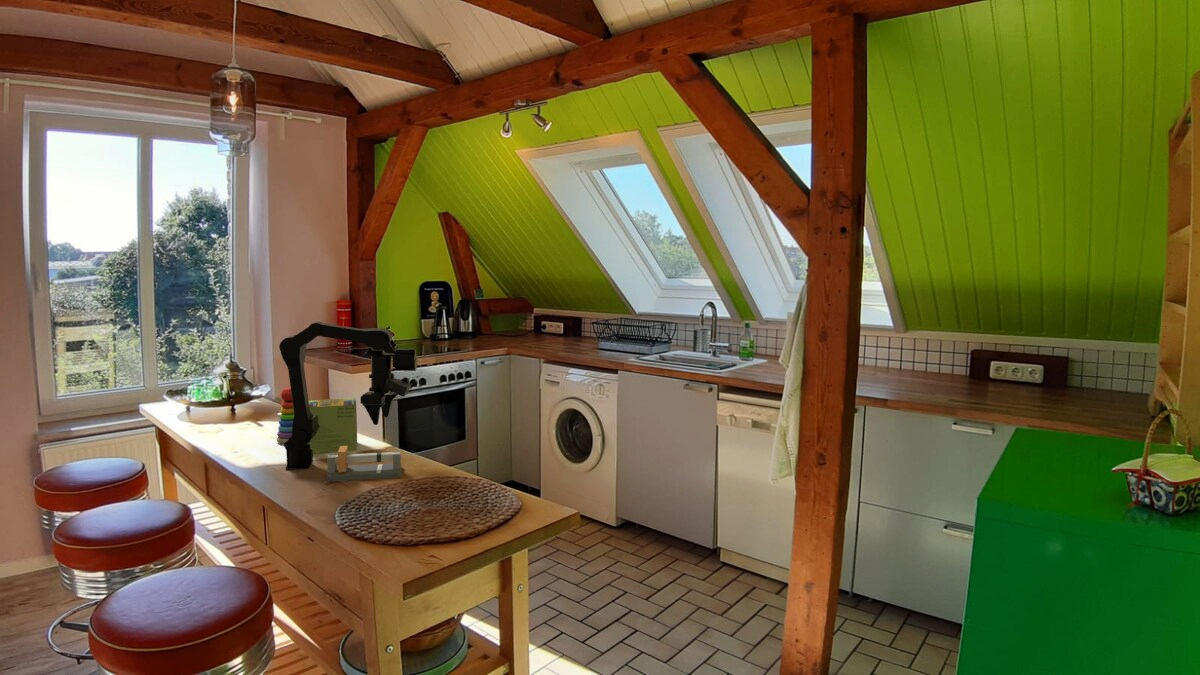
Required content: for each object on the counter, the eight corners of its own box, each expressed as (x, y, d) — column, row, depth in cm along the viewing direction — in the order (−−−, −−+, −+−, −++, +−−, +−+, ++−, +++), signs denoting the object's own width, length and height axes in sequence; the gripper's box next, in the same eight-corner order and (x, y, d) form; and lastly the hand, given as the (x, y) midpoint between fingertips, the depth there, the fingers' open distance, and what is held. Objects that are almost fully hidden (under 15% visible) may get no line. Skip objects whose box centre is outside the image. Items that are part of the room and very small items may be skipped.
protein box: (357, 450, 221) (356, 404, 219) (306, 454, 216) (304, 407, 214) (357, 442, 231) (356, 397, 229) (308, 445, 225) (306, 400, 223)
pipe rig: (326, 481, 192) (325, 460, 191) (331, 471, 200) (330, 451, 199) (399, 477, 196) (399, 457, 195) (401, 467, 205) (401, 448, 204)
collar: (338, 472, 193) (337, 452, 193) (341, 465, 199) (340, 446, 198) (345, 472, 194) (345, 451, 193) (348, 465, 200) (347, 445, 199)
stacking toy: (292, 445, 225) (290, 390, 222) (271, 444, 226) (269, 389, 224) (307, 439, 232) (305, 385, 230) (287, 437, 234) (284, 384, 231)
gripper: (398, 377, 195) (397, 430, 197) (416, 366, 213) (416, 414, 215) (359, 375, 195) (359, 428, 197) (381, 364, 213) (381, 413, 215)
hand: (381, 420), depth 206 cm, fingers open, 9 cm apart
